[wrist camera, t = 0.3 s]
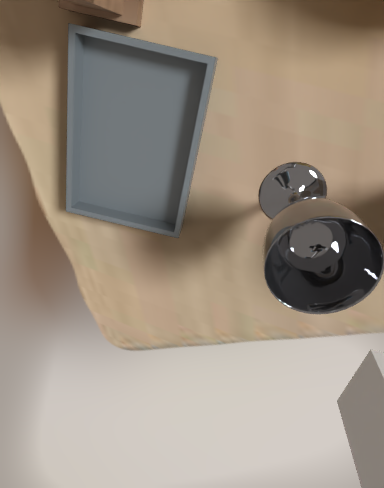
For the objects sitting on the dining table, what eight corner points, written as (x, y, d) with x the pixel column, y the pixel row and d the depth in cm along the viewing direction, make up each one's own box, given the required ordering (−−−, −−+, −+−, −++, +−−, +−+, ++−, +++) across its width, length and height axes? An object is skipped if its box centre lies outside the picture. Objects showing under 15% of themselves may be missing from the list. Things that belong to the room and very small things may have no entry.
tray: (81, 26, 31) (68, 23, 29) (217, 58, 31) (216, 57, 28) (76, 202, 40) (65, 211, 37) (182, 227, 40) (178, 238, 37)
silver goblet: (249, 222, 38) (254, 305, 25) (262, 153, 34) (277, 209, 21) (319, 232, 38) (361, 321, 25) (341, 163, 34) (404, 226, 21)
